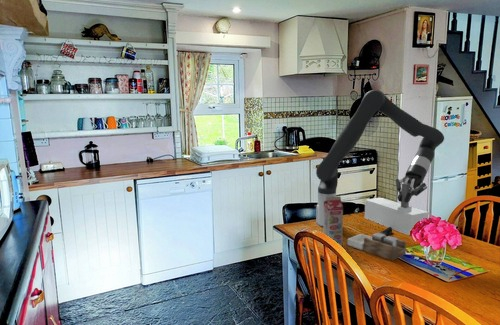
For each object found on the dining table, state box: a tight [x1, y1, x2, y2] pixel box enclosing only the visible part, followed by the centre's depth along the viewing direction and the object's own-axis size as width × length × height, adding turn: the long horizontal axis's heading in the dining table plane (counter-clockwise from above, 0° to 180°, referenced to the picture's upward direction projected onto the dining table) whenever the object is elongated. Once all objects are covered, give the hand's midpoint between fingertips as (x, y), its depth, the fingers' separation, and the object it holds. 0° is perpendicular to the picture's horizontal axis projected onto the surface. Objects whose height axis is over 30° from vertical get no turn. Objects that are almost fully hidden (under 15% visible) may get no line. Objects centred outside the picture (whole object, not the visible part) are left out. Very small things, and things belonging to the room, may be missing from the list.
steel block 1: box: [371, 232, 386, 243], centre depth 155 cm, size 4×4×4 cm
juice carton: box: [322, 196, 344, 247], centre depth 162 cm, size 7×7×22 cm
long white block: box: [364, 197, 429, 236], centre depth 187 cm, size 32×11×11 cm, turn 24°
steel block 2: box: [384, 235, 399, 249], centre depth 150 cm, size 4×4×4 cm
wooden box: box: [363, 236, 407, 261], centre depth 153 cm, size 14×10×6 cm
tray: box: [346, 233, 372, 251], centre depth 162 cm, size 8×10×3 cm
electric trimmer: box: [379, 227, 393, 236], centre depth 172 cm, size 4×16×3 cm, turn 138°
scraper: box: [397, 182, 413, 215], centre depth 153 cm, size 3×6×12 cm, turn 129°
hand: (402, 201), depth 152 cm, fingers closed on scraper, 2 cm apart
